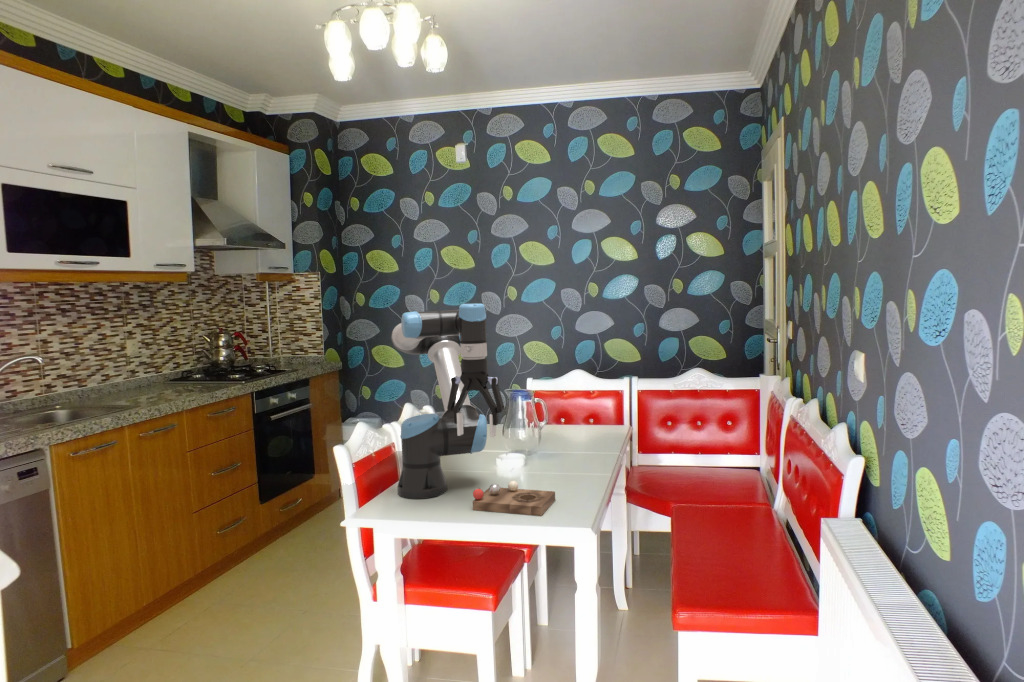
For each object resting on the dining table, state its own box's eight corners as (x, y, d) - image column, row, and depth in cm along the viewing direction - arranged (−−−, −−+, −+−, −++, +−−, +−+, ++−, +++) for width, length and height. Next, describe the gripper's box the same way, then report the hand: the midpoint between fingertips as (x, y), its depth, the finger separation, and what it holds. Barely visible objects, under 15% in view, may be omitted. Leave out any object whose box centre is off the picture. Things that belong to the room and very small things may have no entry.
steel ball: (487, 496, 192) (487, 485, 192) (491, 492, 195) (491, 482, 195) (498, 496, 191) (497, 485, 191) (501, 493, 194) (501, 482, 194)
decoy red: (471, 500, 189) (471, 490, 188) (475, 497, 191) (475, 487, 191) (481, 501, 188) (481, 490, 187) (485, 498, 190) (485, 487, 190)
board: (472, 510, 188) (472, 501, 188) (490, 495, 201) (490, 486, 201) (541, 515, 182) (541, 506, 181) (555, 500, 195) (555, 491, 195)
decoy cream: (506, 492, 196) (506, 481, 195) (510, 489, 198) (509, 479, 198) (516, 492, 195) (516, 482, 194) (519, 489, 197) (519, 479, 197)
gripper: (433, 359, 192) (436, 436, 194) (506, 359, 185) (508, 440, 186) (444, 356, 199) (446, 431, 201) (514, 356, 192) (517, 434, 194)
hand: (476, 435), depth 194 cm, fingers open, 9 cm apart
